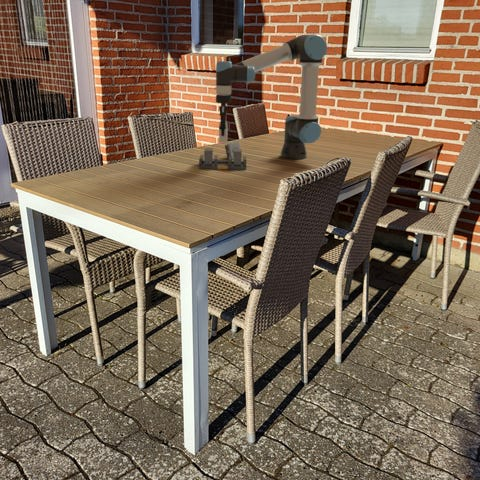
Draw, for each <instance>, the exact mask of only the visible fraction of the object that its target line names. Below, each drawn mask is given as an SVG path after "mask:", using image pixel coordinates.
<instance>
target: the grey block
mask: <svg viewBox="0 0 480 480" xmlns="http://www.w3.org/2000/svg"><path fill="white" fill-rule="evenodd" d="M225 127H226V142H220V129H219V128H220V122H219V124H218V143H225V144H228V122H227V121H226V122H225Z"/></svg>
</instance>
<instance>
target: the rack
mask: <svg viewBox="0 0 480 480" xmlns="http://www.w3.org/2000/svg"><path fill="white" fill-rule="evenodd" d="M242 149H243V148H240V149H237V148H234V159H233V160H232V156H229V159H228V160H218V158H219V156H218V155H217V154H216V155H214V147H205V148H204V151H203V153H204V154H200V156H199V159H198V161H199V162H198V163H199V165H198V169H199V170H229V171H230V170H234V171H236V170H237V171H243V170H245V171H246V170H247V156H246V155H243V154H242V153H243V152H242ZM242 158H243V159H242Z"/></svg>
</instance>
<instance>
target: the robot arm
mask: <svg viewBox="0 0 480 480" xmlns="http://www.w3.org/2000/svg"><path fill="white" fill-rule="evenodd" d="M327 50H328V43H327V41H326V39H325V37H324V36H321V35H319V34H315V33H312V34H302V35H299V36H296V37H293V38H292V39H290V40H288V41H285V42H283V43H282V45H281V46H278V47H276V48H272V49H271V50H267V51H265V52H262V53H260V54H257V55H255V56H253V57H250V58H247V59H246V60H245V59H244V60H243V61H240V62H237V63H235V64H234V63H233V62H232V61H227V60H226V61H225V60H221V61H217V62H216V64H215V86H216V87H214V90H215V94H216V95H215V102H216V103H217V104H220V106H219V109H218V110H219V116H220V120H219V121H220V122H219V123H220V128H219V127H218V130H219V129H220V142H226V127H225V122H227V116H228V115H227V114H228V106H227V104H231V103H232V83H234V82H236V83H252V82H254V81H255V78H256V73H257V72H260V71H262V70H265V69H268V68H270V67H273V66H276V65H278V64H280V63H283V62H286V61H288V62H291V61H294V60H299V64H300V66H301V83H300V85H301V86H300V100H299V101H300V102H299V103H300V104H299V114H298V115H289V116H286V117H285V121H284V137H283V138H284V141H283V145H282V148H281V150H280V157H281V158H283V159H287V160H289V159H290V160H302V159H306V158H307V156H308V155H307V154H308V153H307V149H306V144H313V143H314V144H315V143H316V141H318V140H319V139H320V137H321V135H322V127H321V125H320V123H319V116H318V115H317V102H318V101H317V100H318V89H319V88H318V87H319V85H318V84H319V71H320V69H319V68H320V66H321V65H322V64H323V58H324V57H325V56H326V54H327ZM232 63H233V64H232Z"/></svg>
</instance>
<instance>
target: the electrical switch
mask: <svg viewBox="0 0 480 480" xmlns="http://www.w3.org/2000/svg"><path fill="white" fill-rule="evenodd" d="M234 148H237V149H241V145H240V141H234V142H233V141H232V142H227V143H226V144H225V145H224V149H225V153H226V154H225V155H226V158H227V160H229V156H232V161H234Z"/></svg>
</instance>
